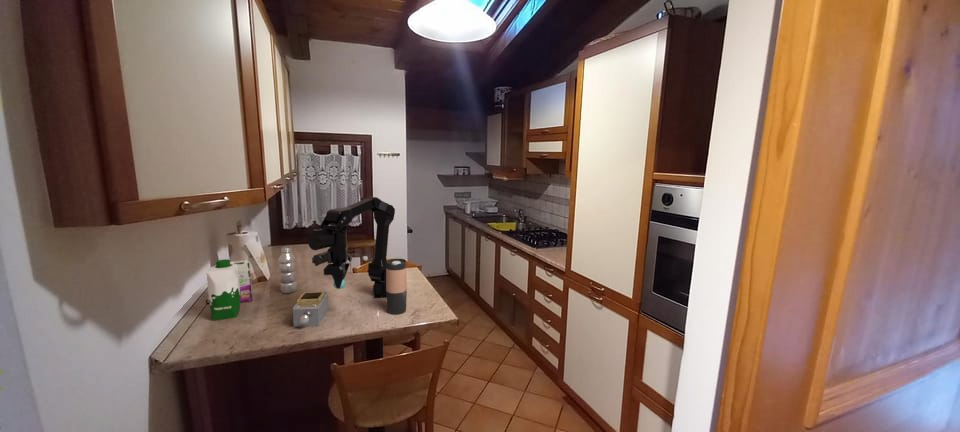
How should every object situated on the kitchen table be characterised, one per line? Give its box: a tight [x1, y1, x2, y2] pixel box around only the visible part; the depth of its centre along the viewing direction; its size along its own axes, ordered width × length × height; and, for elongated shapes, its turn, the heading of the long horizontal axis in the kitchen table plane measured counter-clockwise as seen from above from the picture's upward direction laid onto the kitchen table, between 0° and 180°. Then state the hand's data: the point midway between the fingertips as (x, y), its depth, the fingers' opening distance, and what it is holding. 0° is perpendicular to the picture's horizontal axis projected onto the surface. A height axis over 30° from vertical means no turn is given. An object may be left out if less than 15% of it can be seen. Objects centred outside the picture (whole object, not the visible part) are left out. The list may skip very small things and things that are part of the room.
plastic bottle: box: [278, 245, 298, 294], centre depth 145 cm, size 6×7×20 cm
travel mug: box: [386, 258, 408, 316], centre depth 129 cm, size 8×8×20 cm
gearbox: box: [292, 290, 330, 328], centre depth 121 cm, size 8×16×8 cm, turn 11°
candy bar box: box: [214, 259, 254, 303], centre depth 134 cm, size 11×5×16 cm, turn 123°
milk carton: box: [206, 258, 241, 321], centre depth 122 cm, size 9×9×20 cm
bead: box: [333, 278, 346, 290], centre depth 123 cm, size 4×4×4 cm
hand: (339, 286), depth 123 cm, fingers closed on bead, 4 cm apart
